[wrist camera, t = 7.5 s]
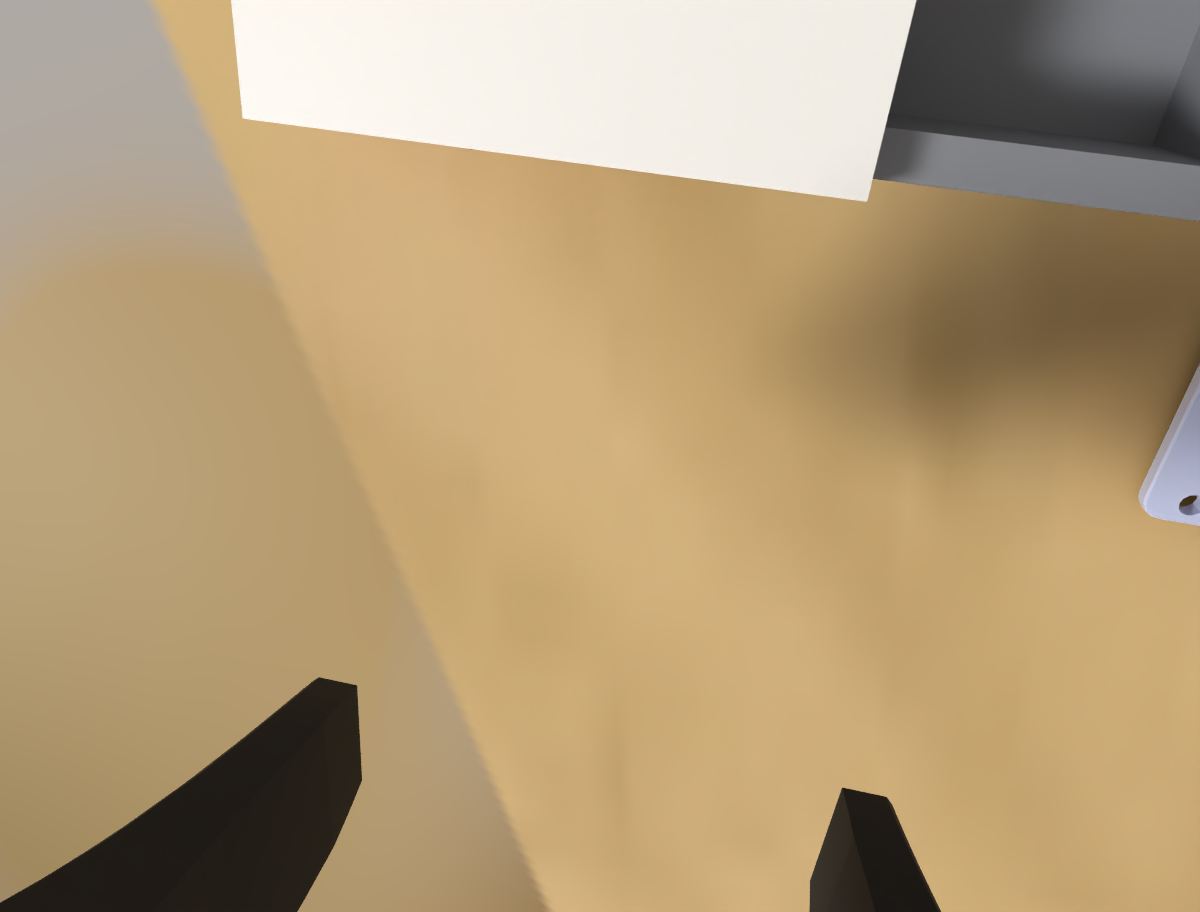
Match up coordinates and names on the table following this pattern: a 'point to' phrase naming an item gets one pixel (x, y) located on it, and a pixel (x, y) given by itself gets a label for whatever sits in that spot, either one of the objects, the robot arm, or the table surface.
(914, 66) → the carton
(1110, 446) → the table surface
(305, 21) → the carton lid
